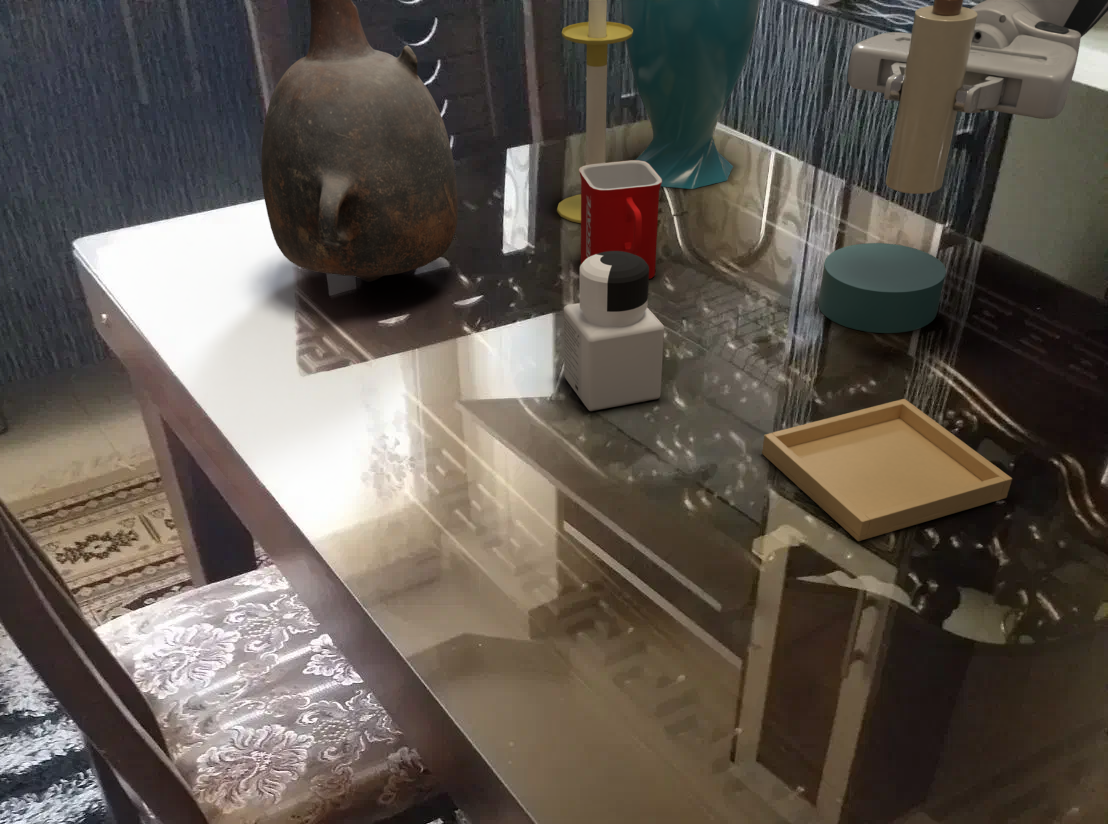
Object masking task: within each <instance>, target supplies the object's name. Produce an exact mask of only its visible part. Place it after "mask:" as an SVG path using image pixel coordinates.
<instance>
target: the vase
mask: <svg viewBox="0 0 1108 824" xmlns="http://www.w3.org/2000/svg"><path fill="white" fill-rule="evenodd" d="M760 6H761V0H621V11H622V24H624V25H627V26H629V27H631V28H632V29H633V34H632V37H631V38H629V39H627V40H625V44H626V50H627V54H628V60H629V63H630V67H631V71H632V75H633V78H634V82H635V85H636V88H637V91H638V94H639V97H640V99H641V102H642V105H643V107H644V110H645V112H646V115H647V117H648V120H649V123H650V126H651V131H652V139H651V141H650V142H649V144H648V146H646V148H645V149H644V150H643V151H642V152H641V153H640V155H638V156H637V157H636V158H635V159H634V160H639V161H644V162H647V163H648V164H650V166H651V167H652V168H653V169H654V170H655V172H656V173H657V174H658V175H659V176H660V178H661V179H662V183H661V186H660V187H662V188H664V187H665V188H674V189H675V188H677V189H687V190H694V189H699V188H701V187H706V186H710V185H714V184H719V183H722V182H726V181H728V180H729V177H730V175H731V172H732V170H733V168H734V165H733V164H732V163H730V161H729V160H728V159H727V158H726V157H724V156H723V155H722V154H721V153H720V152H719V151H718V150H717V146H716V144H715V143H716V142H715V139H714V133H715V130H716V127H717V124H718V123H719V121H720V118H721V116H722V114H723V112H724V110H725V108H726V107H727V104H728V102H729V100H730V98H731V95H732V94H733V91H734V89H735V87H736V85H737V84H738V81H739V80H740V76H741V74H742V73H743V70H744V68H745V64H746V62H747V59H748V56H749V53H750V49H751V47H752V43H753V40H754V36H755V33H756V27H757V24H758V18H759V13H760Z"/></svg>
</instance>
